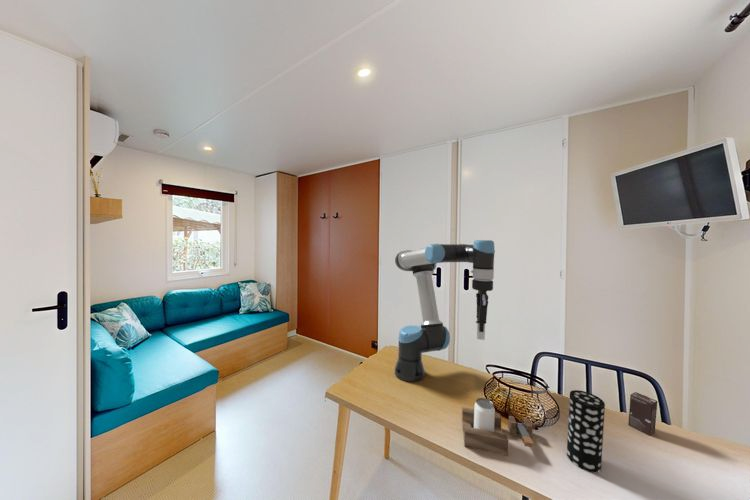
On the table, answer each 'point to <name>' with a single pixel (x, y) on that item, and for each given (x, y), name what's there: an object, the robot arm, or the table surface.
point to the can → (484, 415)
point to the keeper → (524, 435)
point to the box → (642, 413)
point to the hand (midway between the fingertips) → (480, 338)
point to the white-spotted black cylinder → (585, 430)
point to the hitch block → (489, 433)
